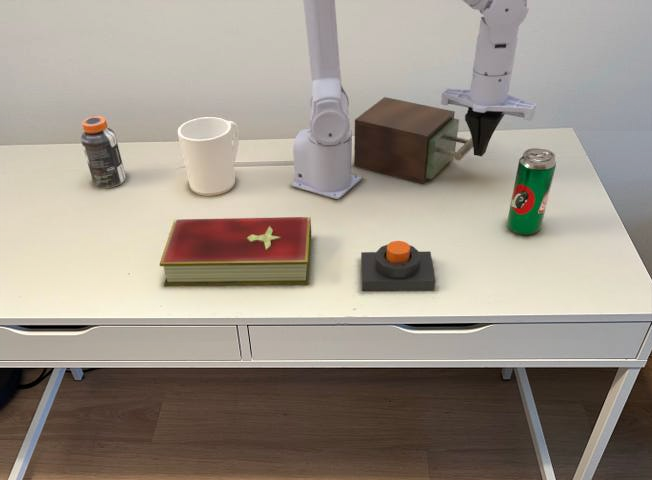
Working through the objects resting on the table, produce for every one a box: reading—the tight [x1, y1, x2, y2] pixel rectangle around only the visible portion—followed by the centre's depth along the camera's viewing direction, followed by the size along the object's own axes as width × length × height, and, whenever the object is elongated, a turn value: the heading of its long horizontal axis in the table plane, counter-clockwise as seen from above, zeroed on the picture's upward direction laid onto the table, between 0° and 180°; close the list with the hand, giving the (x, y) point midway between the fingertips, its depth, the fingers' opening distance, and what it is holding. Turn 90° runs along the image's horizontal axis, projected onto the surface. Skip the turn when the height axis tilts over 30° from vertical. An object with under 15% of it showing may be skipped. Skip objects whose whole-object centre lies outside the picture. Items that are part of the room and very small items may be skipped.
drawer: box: [425, 117, 473, 180], centre depth 114 cm, size 17×9×7 cm, turn 55°
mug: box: [177, 116, 240, 197], centre depth 113 cm, size 11×9×10 cm
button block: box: [360, 244, 436, 292], centre depth 93 cm, size 10×7×4 cm
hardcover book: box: [159, 216, 312, 287], centre depth 98 cm, size 12×21×4 cm, turn 87°
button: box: [386, 240, 411, 263], centre depth 92 cm, size 3×3×2 cm
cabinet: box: [353, 96, 456, 185], centre depth 116 cm, size 14×11×9 cm
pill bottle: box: [80, 115, 127, 189], centre depth 116 cm, size 6×6×11 cm
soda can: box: [506, 147, 557, 236], centre depth 97 cm, size 5×5×12 cm
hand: (479, 153), depth 109 cm, fingers closed
